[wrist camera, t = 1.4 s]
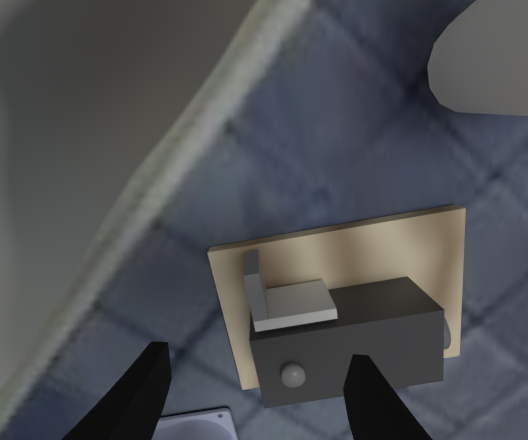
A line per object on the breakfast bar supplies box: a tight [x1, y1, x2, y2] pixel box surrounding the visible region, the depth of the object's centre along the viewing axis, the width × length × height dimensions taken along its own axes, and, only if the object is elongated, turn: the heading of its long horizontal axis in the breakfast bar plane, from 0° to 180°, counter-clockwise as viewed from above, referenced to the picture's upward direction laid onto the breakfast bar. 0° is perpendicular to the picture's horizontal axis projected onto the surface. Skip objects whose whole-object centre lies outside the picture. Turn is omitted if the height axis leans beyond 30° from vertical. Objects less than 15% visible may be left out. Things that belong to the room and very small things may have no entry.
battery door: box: [243, 250, 338, 332], centre depth 19 cm, size 6×4×4 cm
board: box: [207, 204, 466, 390], centre depth 23 cm, size 20×14×1 cm
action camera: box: [249, 276, 451, 408], centre depth 20 cm, size 14×6×5 cm, turn 100°
